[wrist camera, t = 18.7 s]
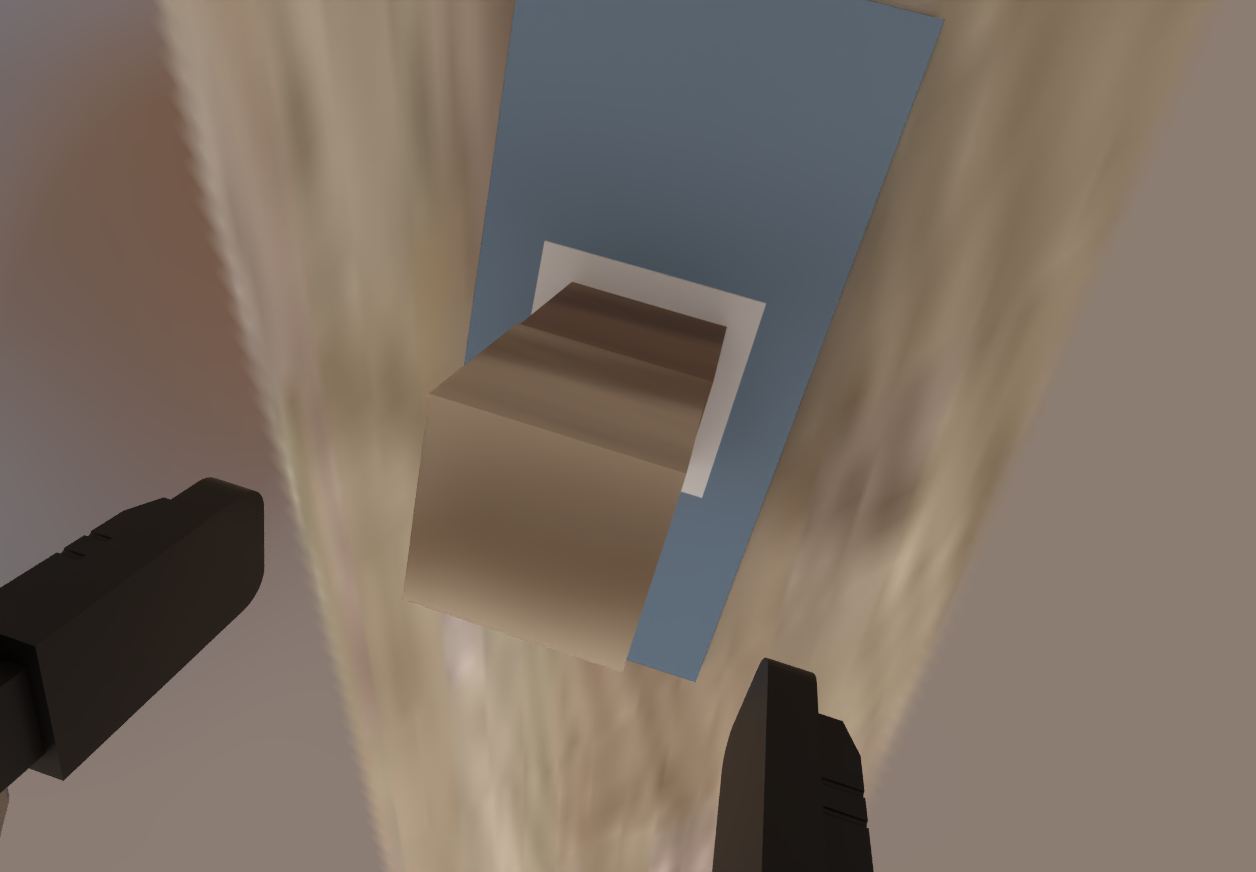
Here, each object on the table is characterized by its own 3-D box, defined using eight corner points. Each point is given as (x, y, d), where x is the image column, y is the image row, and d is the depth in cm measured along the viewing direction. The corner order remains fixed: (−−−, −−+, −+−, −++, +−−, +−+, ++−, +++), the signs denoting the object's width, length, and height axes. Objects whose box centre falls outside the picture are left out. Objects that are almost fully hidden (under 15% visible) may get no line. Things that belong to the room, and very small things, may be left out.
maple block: (516, 323, 18) (429, 393, 13) (710, 381, 17) (686, 473, 13) (486, 490, 20) (402, 599, 16) (657, 545, 20) (622, 672, 15)
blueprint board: (538, -76, 20) (526, -86, 19) (936, 23, 19) (945, 19, 18) (442, 581, 30) (430, 598, 29) (698, 664, 29) (695, 684, 28)
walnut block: (572, 281, 22) (519, 324, 18) (726, 327, 22) (713, 381, 17) (542, 422, 24) (490, 491, 20) (683, 465, 24) (661, 545, 20)
